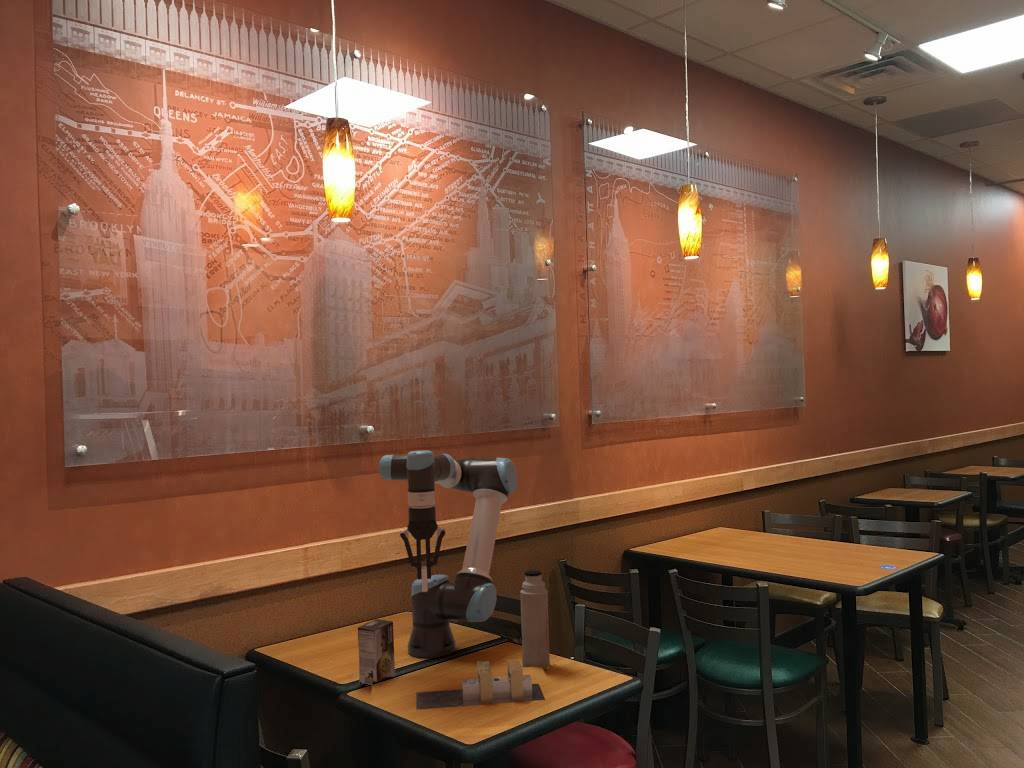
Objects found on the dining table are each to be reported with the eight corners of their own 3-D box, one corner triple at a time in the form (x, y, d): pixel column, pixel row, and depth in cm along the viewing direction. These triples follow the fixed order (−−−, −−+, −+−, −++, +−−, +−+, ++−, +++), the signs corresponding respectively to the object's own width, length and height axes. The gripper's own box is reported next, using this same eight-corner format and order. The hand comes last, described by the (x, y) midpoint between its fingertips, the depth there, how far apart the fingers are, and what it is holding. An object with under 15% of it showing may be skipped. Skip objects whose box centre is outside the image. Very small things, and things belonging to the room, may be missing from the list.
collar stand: (416, 698, 223) (415, 664, 223) (538, 689, 226) (537, 655, 226) (416, 715, 211) (415, 679, 211) (545, 705, 215) (544, 670, 215)
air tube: (462, 694, 220) (462, 679, 220) (530, 689, 222) (529, 674, 222) (463, 700, 216) (462, 684, 216) (532, 695, 218) (531, 679, 218)
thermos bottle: (551, 662, 248) (548, 568, 248) (547, 672, 240) (544, 574, 240) (525, 661, 249) (522, 568, 249) (520, 671, 241) (517, 574, 242)
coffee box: (377, 674, 243) (375, 618, 243) (395, 676, 240) (394, 620, 240) (358, 684, 234) (356, 627, 235) (377, 687, 232) (375, 629, 232)
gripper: (398, 509, 228) (401, 595, 228) (445, 506, 230) (448, 592, 230) (398, 505, 236) (401, 588, 236) (444, 503, 237) (447, 585, 237)
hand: (424, 590), depth 233 cm, fingers closed
